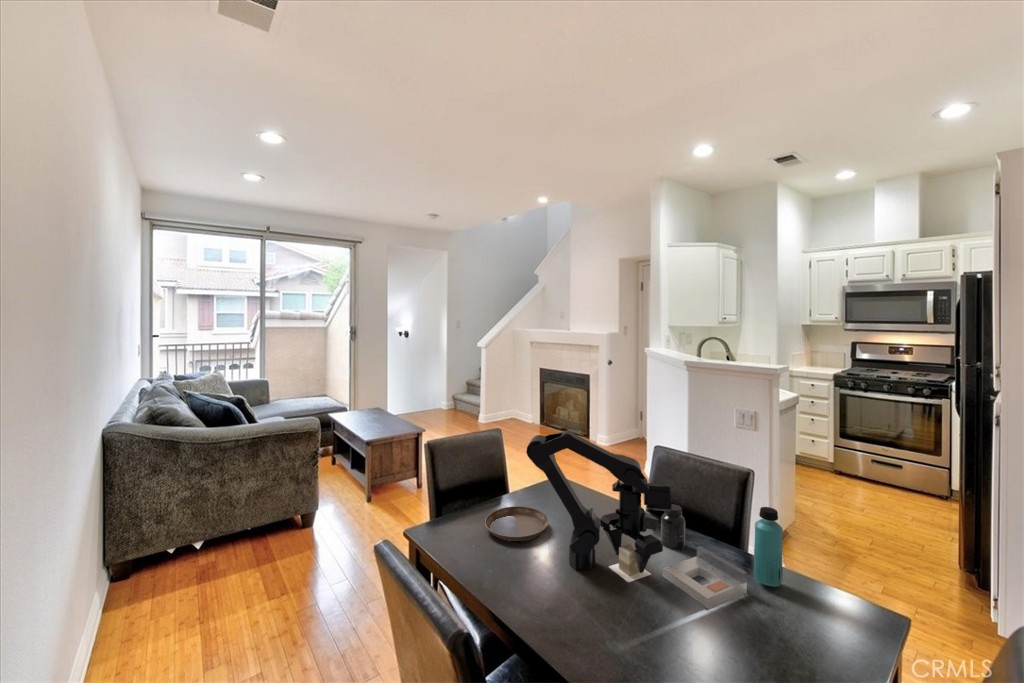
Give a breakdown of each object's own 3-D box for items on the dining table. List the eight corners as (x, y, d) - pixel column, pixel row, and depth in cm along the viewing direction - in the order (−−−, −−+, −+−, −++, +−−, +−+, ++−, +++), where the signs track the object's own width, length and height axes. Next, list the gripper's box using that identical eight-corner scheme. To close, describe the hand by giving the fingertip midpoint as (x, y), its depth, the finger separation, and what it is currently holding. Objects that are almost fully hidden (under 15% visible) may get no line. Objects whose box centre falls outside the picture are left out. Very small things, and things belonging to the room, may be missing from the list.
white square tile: (628, 585, 114) (628, 582, 114) (608, 569, 121) (608, 566, 121) (651, 577, 118) (651, 574, 118) (631, 562, 125) (631, 559, 125)
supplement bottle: (686, 553, 129) (687, 513, 128) (662, 550, 130) (662, 511, 130) (682, 541, 136) (683, 503, 135) (659, 539, 137) (659, 501, 136)
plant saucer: (503, 552, 131) (503, 542, 130) (474, 524, 149) (474, 514, 148) (560, 535, 141) (560, 525, 140) (527, 510, 159) (527, 501, 158)
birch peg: (628, 576, 117) (629, 554, 116) (618, 568, 120) (619, 547, 120) (640, 572, 118) (640, 550, 118) (630, 564, 122) (630, 543, 122)
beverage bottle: (782, 596, 109) (784, 517, 108) (751, 587, 113) (753, 511, 112) (782, 582, 115) (784, 507, 114) (753, 574, 118) (755, 501, 117)
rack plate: (707, 610, 104) (707, 588, 104) (662, 578, 117) (663, 558, 116) (746, 593, 110) (747, 572, 110) (700, 565, 123) (700, 546, 123)
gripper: (679, 515, 113) (678, 573, 114) (629, 489, 130) (629, 540, 131) (646, 524, 109) (645, 585, 110) (599, 496, 125) (598, 549, 126)
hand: (629, 563), depth 119 cm, fingers open, 9 cm apart
